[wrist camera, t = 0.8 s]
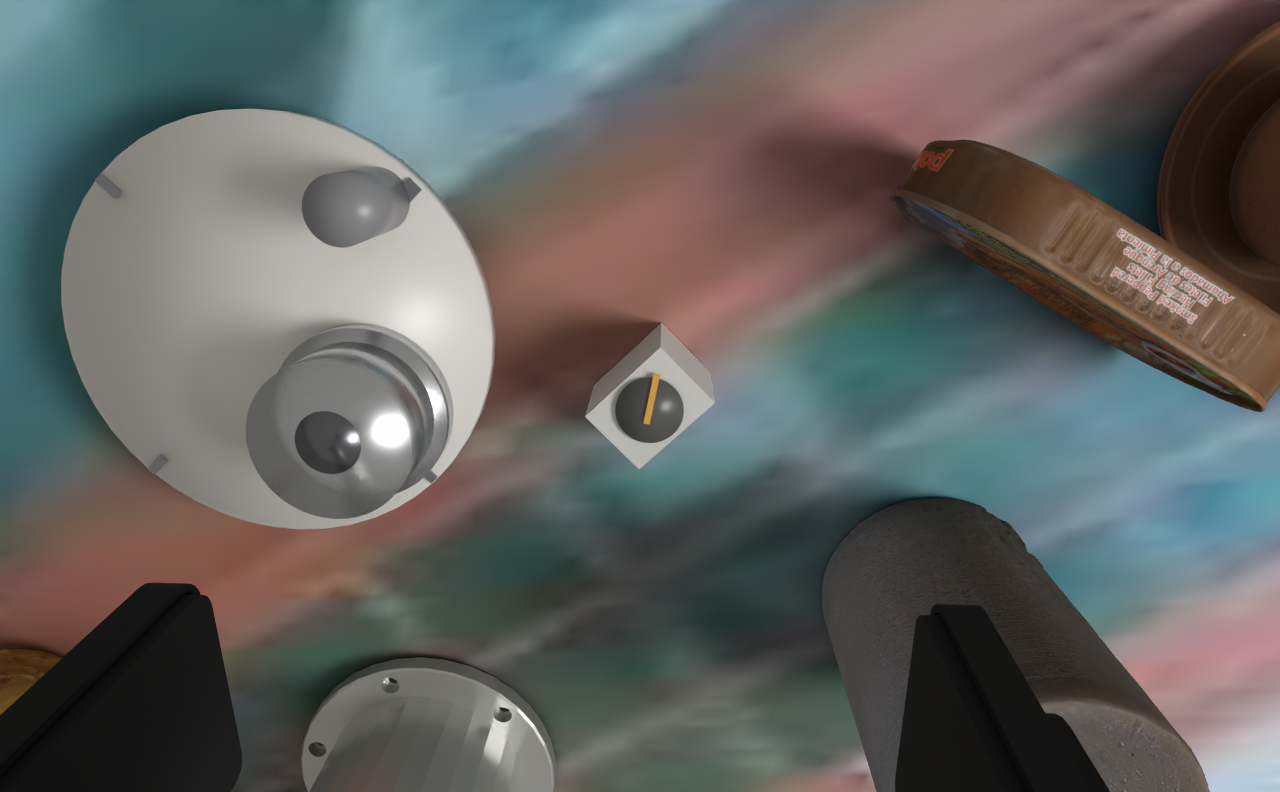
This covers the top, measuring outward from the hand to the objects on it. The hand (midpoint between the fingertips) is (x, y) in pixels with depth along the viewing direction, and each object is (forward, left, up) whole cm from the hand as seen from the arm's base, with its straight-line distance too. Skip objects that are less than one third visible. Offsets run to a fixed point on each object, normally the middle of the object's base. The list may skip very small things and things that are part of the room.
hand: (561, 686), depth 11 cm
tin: (+13, -10, -25) cm, 30 cm away
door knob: (-10, +5, -22) cm, 25 cm away
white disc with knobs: (-11, +9, -25) cm, 29 cm away
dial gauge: (-2, -3, -25) cm, 25 cm away
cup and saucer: (+22, -14, -25) cm, 36 cm away
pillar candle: (0, -19, -25) cm, 32 cm away
